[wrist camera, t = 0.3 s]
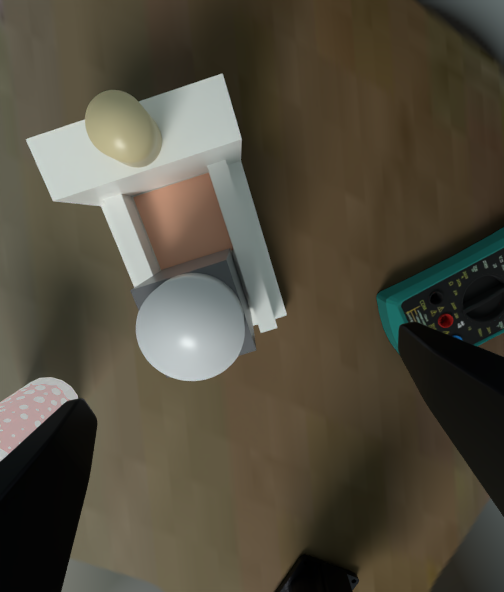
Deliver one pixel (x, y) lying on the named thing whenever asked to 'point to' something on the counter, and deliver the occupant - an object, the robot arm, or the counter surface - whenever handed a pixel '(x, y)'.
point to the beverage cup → (30, 410)
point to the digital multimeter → (452, 295)
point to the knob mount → (165, 183)
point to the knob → (194, 318)
